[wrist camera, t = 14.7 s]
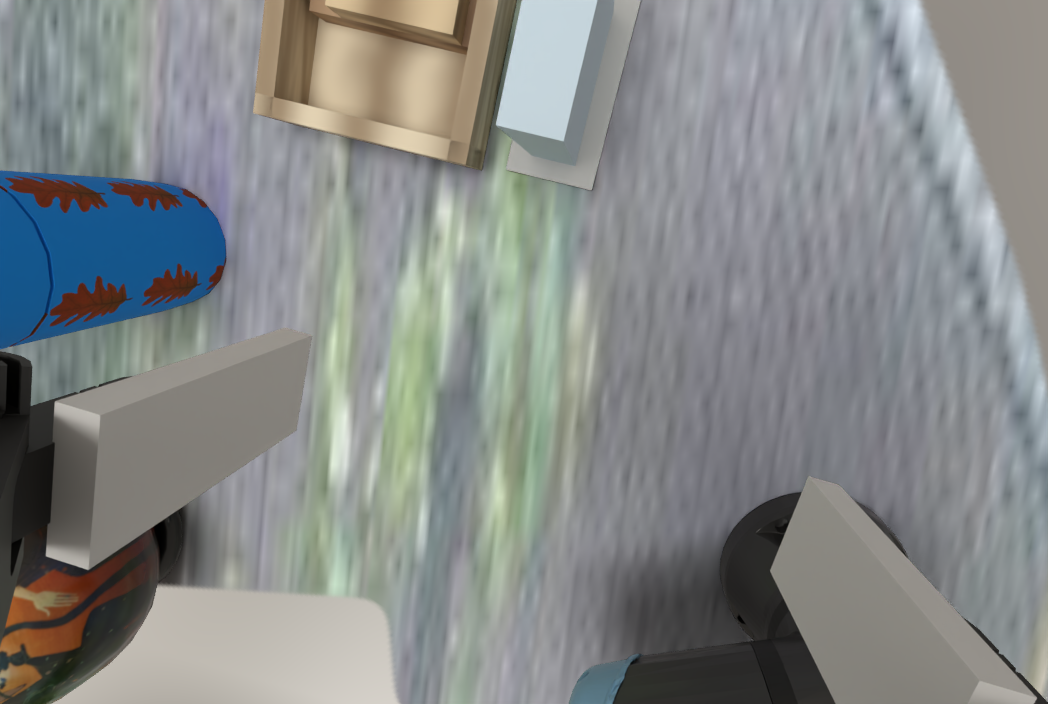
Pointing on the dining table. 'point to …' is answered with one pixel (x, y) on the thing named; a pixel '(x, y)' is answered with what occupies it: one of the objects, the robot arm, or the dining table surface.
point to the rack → (383, 82)
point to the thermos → (99, 252)
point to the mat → (598, 112)
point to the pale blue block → (553, 75)
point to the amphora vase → (79, 612)
